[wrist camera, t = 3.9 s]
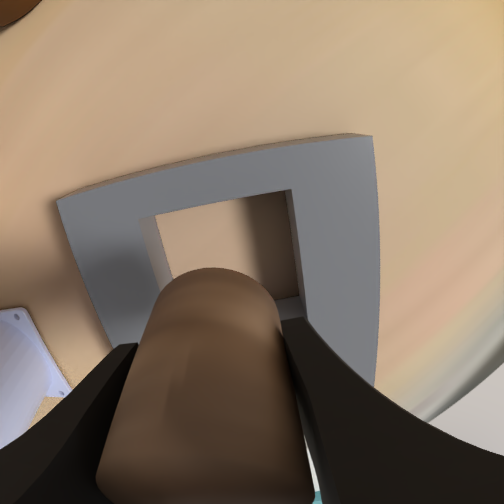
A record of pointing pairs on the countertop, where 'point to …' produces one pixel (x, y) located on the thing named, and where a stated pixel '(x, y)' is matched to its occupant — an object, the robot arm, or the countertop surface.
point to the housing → (232, 187)
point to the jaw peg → (208, 403)
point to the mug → (14, 9)
